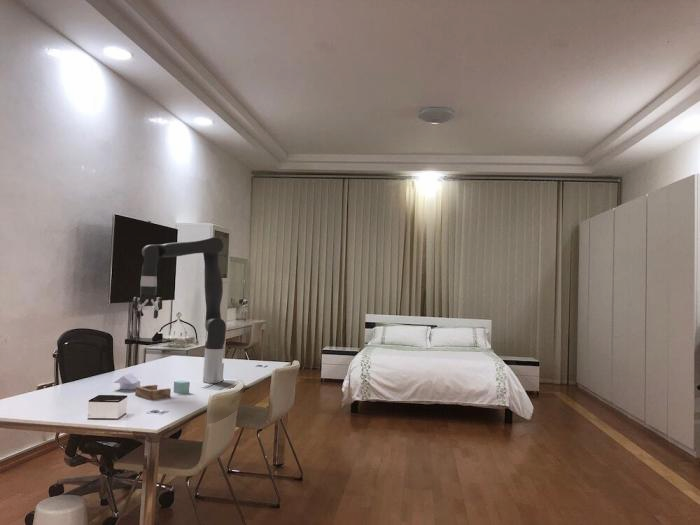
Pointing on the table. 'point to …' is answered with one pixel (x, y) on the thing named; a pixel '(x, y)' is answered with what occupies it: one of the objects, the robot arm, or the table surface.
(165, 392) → the walnut bay
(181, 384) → the teal block
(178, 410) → the table surface
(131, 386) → the white toy house
